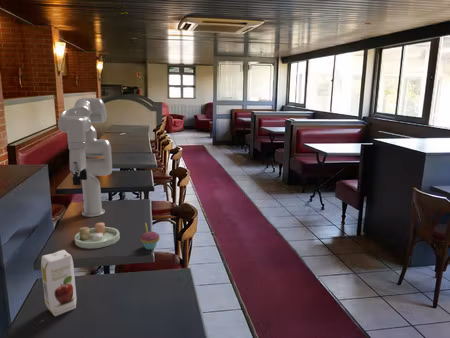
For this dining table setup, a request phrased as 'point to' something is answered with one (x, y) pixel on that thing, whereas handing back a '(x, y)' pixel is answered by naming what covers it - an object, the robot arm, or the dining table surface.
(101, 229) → the terracotta bead
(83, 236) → the maple bead
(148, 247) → the cupcake
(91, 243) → the groove tray
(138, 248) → the dining table surface
